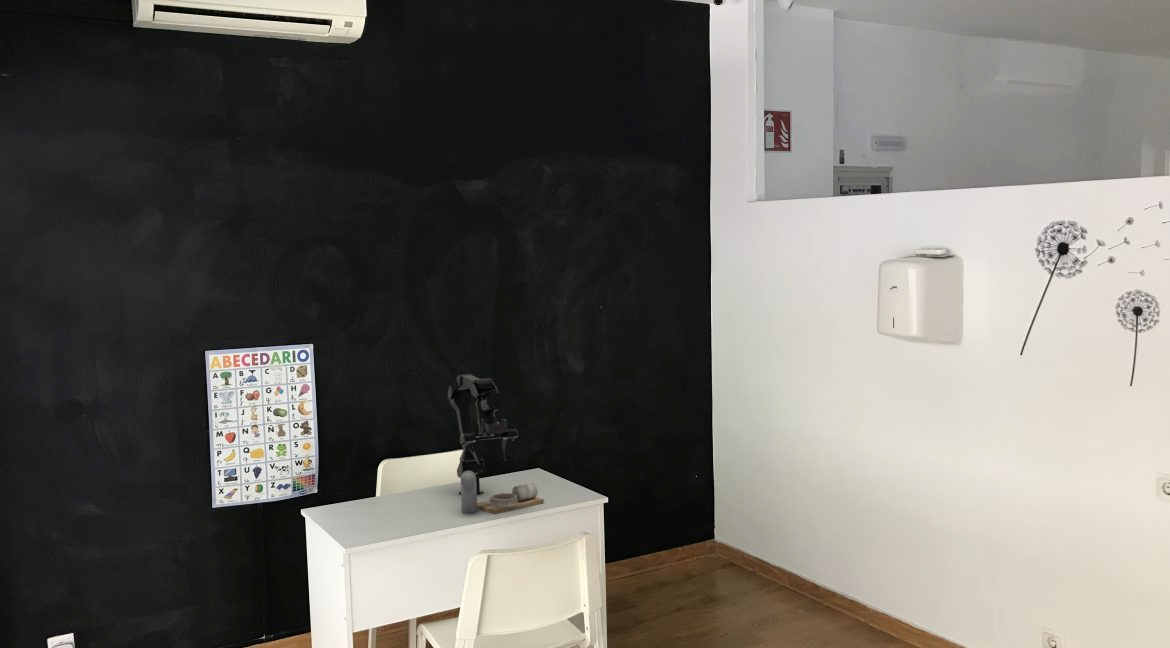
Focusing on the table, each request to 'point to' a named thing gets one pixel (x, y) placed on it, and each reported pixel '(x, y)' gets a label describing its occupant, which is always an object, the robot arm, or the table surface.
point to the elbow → (468, 492)
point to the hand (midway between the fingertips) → (492, 462)
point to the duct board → (512, 499)
